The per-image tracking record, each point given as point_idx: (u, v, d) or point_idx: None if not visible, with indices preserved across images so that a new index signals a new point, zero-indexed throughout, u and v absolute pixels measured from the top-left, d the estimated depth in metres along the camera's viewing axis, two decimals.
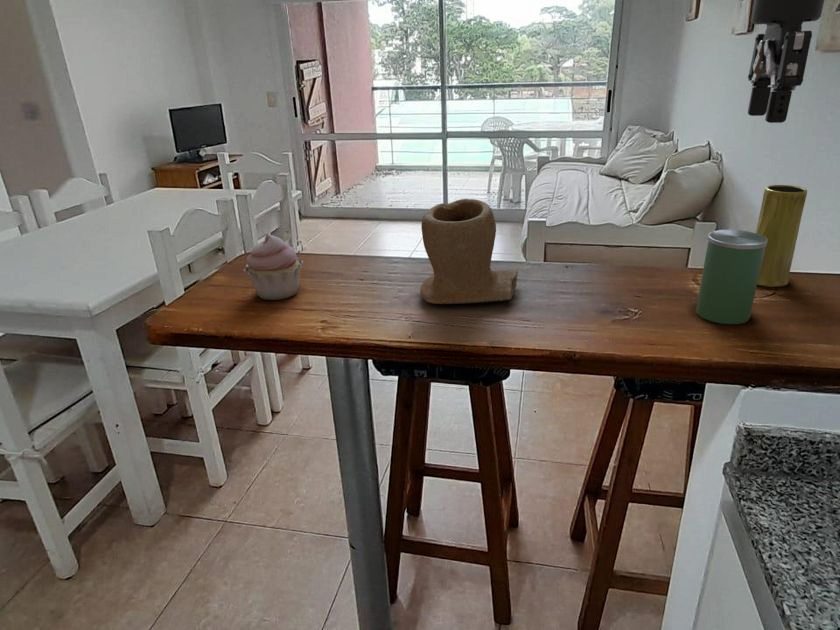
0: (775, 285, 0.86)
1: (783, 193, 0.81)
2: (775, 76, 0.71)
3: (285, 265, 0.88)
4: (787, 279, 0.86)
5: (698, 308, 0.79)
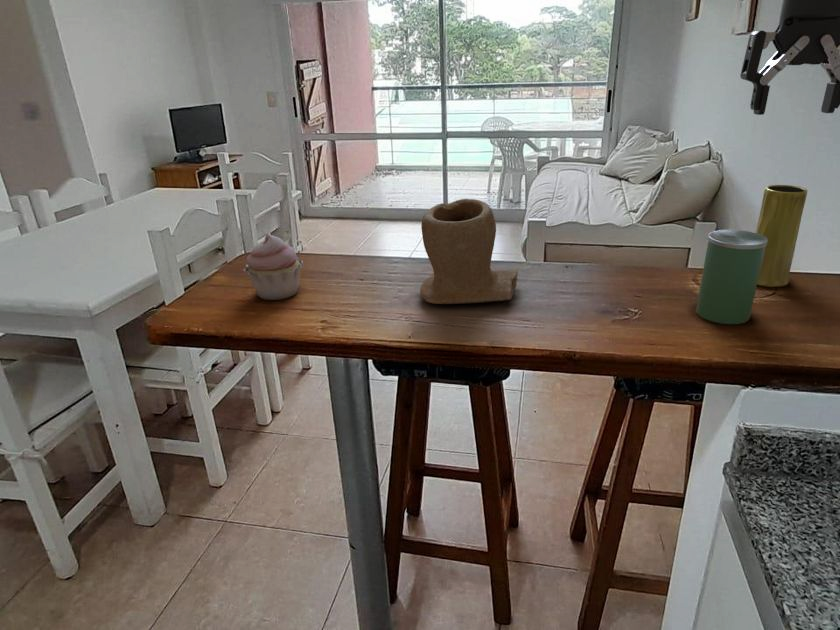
0: (775, 285, 0.86)
1: (783, 193, 0.81)
2: (760, 71, 0.77)
3: (285, 265, 0.88)
4: (787, 279, 0.86)
5: (698, 308, 0.79)
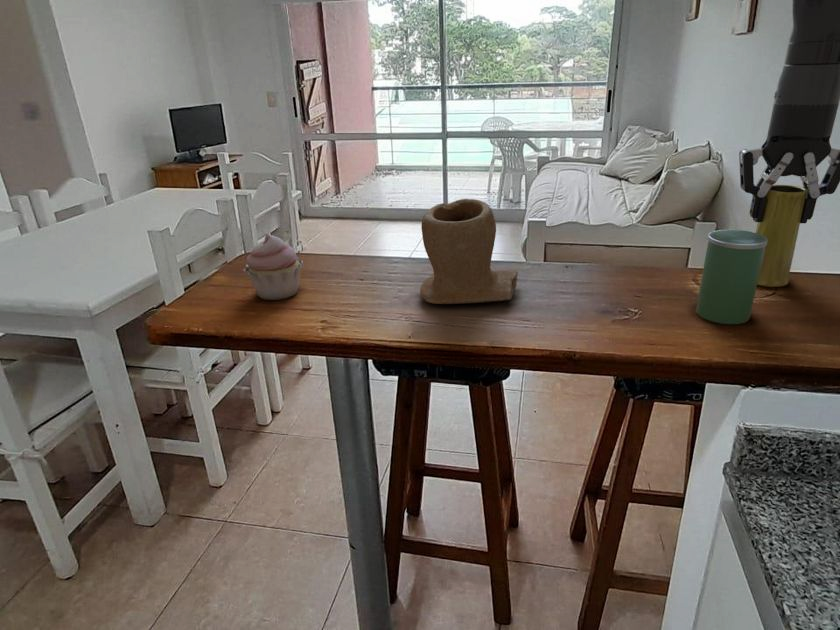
0: (775, 285, 0.86)
1: (783, 193, 0.81)
2: (757, 183, 0.84)
3: (285, 265, 0.88)
4: (787, 279, 0.86)
5: (698, 308, 0.79)
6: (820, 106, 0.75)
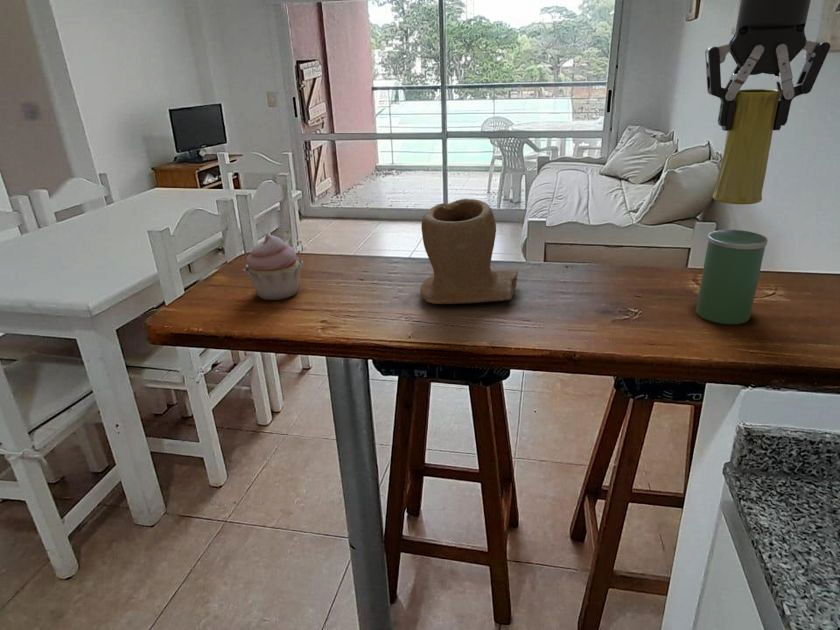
0: (746, 202, 0.77)
1: (753, 93, 0.72)
2: None
3: (285, 265, 0.88)
4: (760, 195, 0.78)
5: (698, 308, 0.79)
6: None
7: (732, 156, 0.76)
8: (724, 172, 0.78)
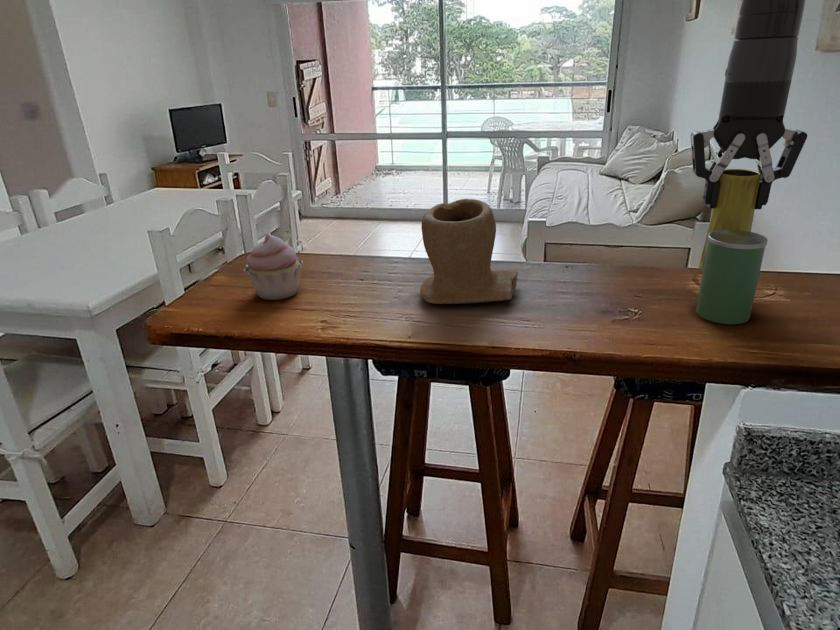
0: None
1: (735, 177, 0.77)
2: (710, 167, 0.80)
3: (285, 265, 0.88)
4: None
5: (698, 308, 0.79)
6: (770, 83, 0.70)
7: None
8: None
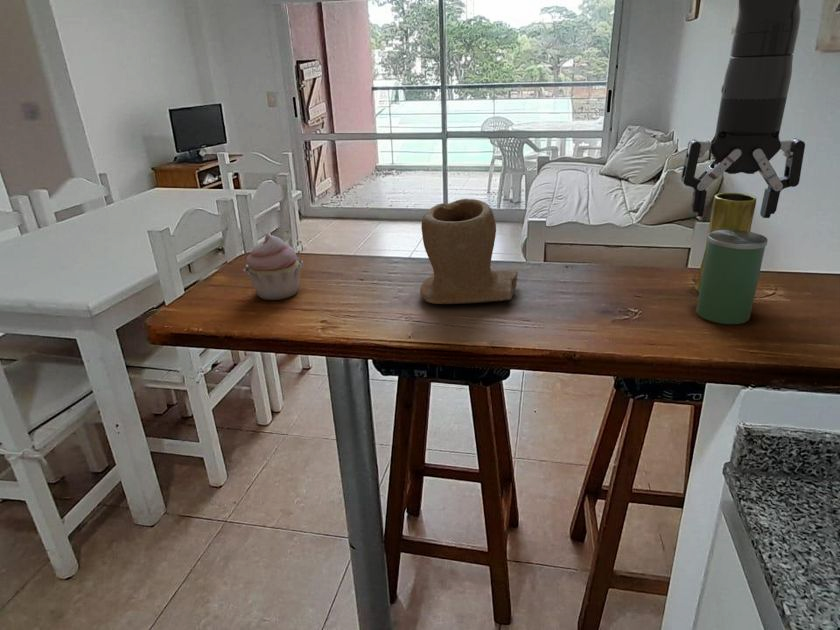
0: None
1: (731, 202, 0.78)
2: (700, 175, 0.81)
3: (285, 265, 0.88)
4: None
5: (698, 308, 0.79)
6: (766, 100, 0.71)
7: None
8: None
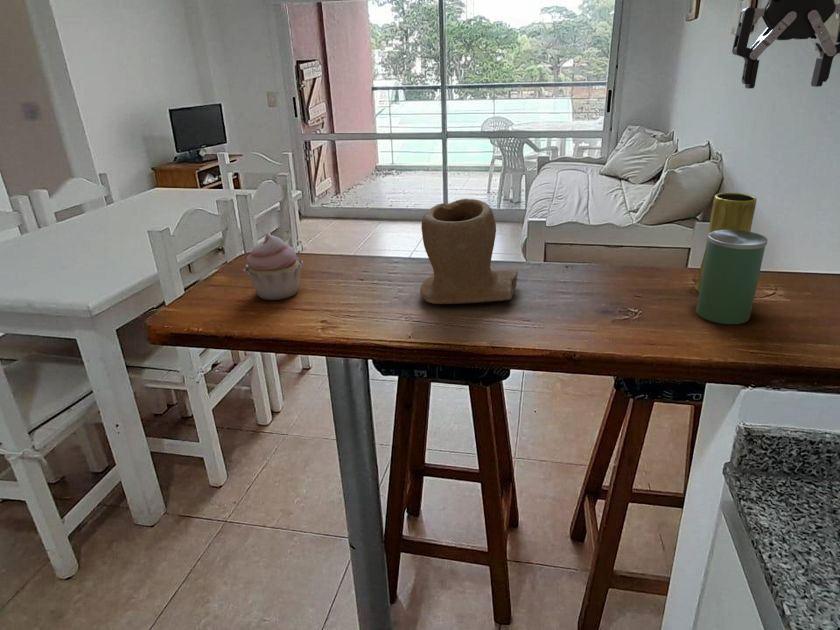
0: None
1: (731, 202, 0.78)
2: (751, 46, 0.81)
3: (285, 265, 0.88)
4: None
5: (698, 308, 0.79)
6: None
7: None
8: None
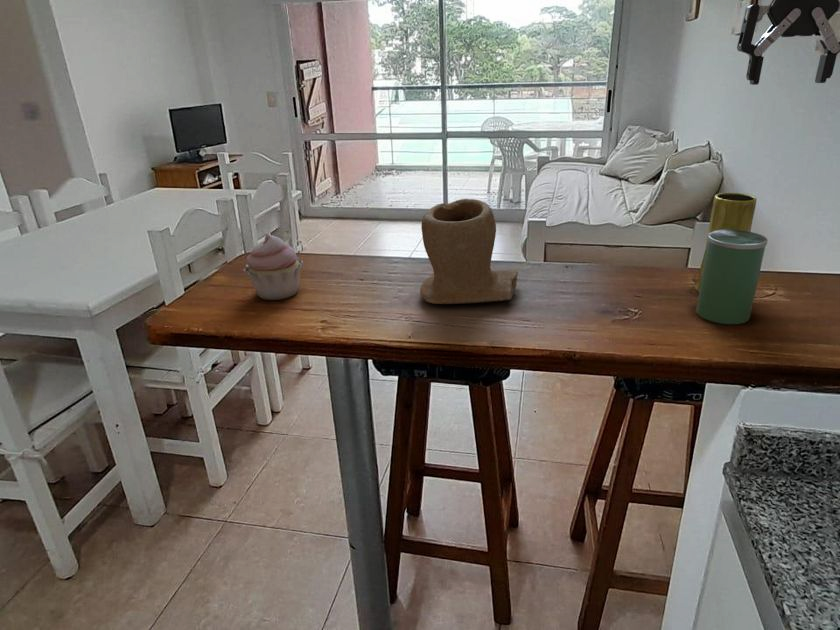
0: None
1: (731, 202, 0.78)
2: (756, 43, 0.82)
3: (285, 265, 0.88)
4: None
5: (698, 308, 0.79)
6: None
7: None
8: None
